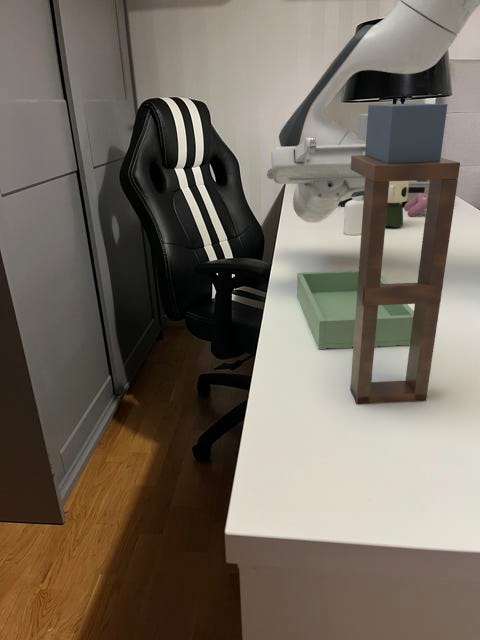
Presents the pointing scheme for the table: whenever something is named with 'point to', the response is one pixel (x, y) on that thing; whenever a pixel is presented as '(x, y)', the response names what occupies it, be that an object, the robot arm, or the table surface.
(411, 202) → the video game controller
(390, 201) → the character mug
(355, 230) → the eye dropper bottle
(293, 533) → the table surface
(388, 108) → the slate grey square prism
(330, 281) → the tray
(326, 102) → the robot arm
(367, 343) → the shelf stand
